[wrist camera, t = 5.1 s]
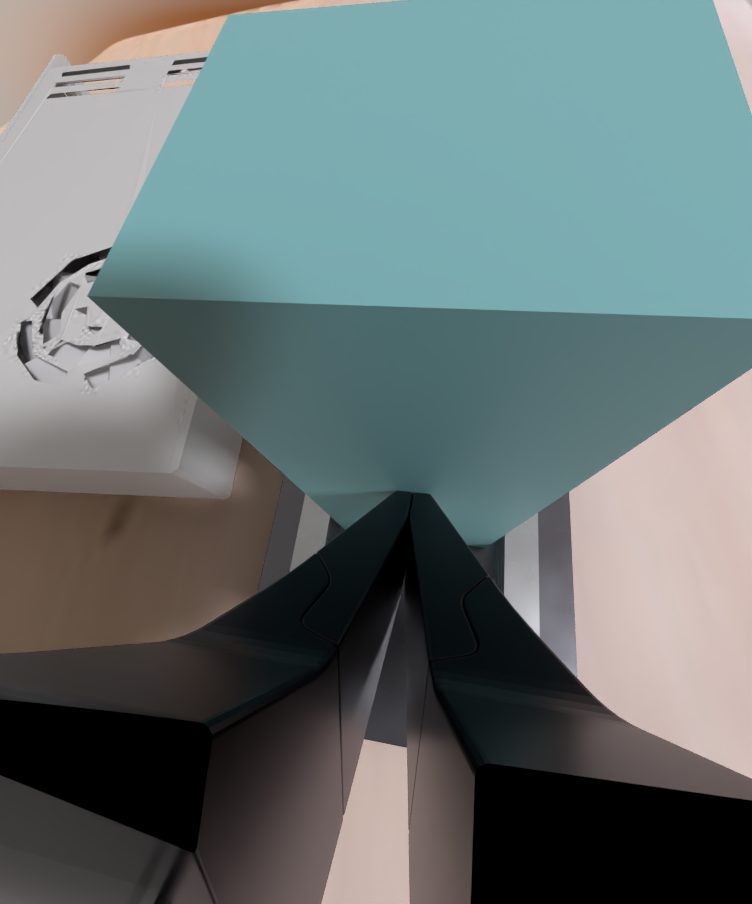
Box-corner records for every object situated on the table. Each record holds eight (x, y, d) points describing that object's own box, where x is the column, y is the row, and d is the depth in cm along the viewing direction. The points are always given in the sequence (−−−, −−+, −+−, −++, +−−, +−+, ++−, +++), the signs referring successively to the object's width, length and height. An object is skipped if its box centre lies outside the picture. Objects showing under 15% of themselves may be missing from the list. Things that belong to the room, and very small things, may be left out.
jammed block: (485, 548, 16) (819, 320, 3) (346, 530, 17) (86, 296, 4) (489, 438, 17) (704, -25, 4) (362, 428, 18) (229, 15, 5)
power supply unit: (315, 109, 31) (298, 22, 26) (235, 502, 19) (177, 473, 14) (107, 126, 33) (56, 49, 28) (-77, 488, 21) (-215, 458, 17)
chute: (575, 775, 13) (627, 835, 10) (237, 707, 15) (186, 739, 12) (558, 353, 20) (587, 303, 16) (318, 341, 21) (300, 294, 18)
